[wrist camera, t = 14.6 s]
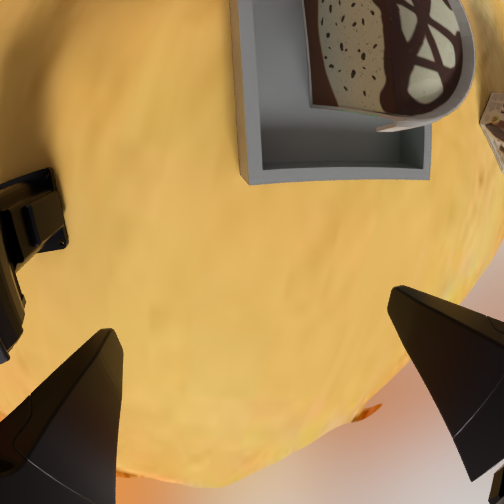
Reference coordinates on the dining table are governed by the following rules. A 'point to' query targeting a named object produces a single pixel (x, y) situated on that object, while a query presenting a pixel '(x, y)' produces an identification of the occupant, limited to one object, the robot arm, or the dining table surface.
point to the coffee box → (495, 125)
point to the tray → (305, 111)
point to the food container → (389, 58)
